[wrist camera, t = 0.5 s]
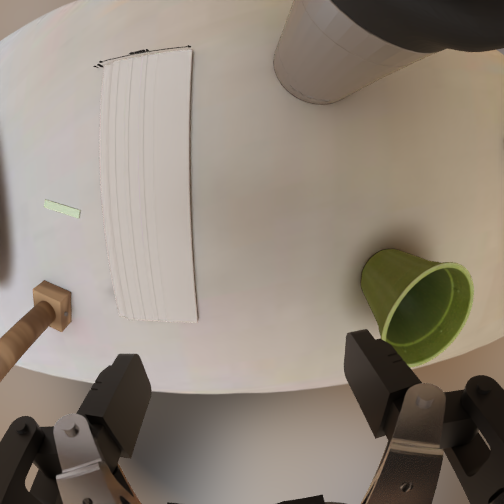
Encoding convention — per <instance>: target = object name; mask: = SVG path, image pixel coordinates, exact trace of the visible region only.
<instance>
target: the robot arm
mask: <svg viewBox="0 0 504 504" xmlns="http://www.w3.org/2000/svg"><path fill="white" fill-rule="evenodd" d="M447 48H449V49H454V50H459V51H466V52H483V51H490V50H496V49H501V48H504V0H294V2H293V5H292V7H291V10H290V13H289V15H288V18H287V21H286V24H285V26H284V29H283V32H282V35H281V37H280V40H279V43H278V46H277V48H276V51H275V54H274V70H275V73H276V75H277V78H278V79H279V81H280V82H281V84H282V85H283V86H284V87H285V88H286V89H287V91H288V92H290V93H291V94H293V95H294V96H295V97H297V98H299V99H301V100H303V101H306V102H310V103H313V104H330V103H333V102H337V101H339V100H341V99H342V98H344V97H346V96H348V95H350V94H352V93H354V92H356V91H358V90H360V89H362V88H363V87H365V86H367V85H369V84H371V83H373V82H375V81H377V80H379V79H381V78H383V77H385V76H387V75H389V74H391V73H393V72H395V71H397V70H399V69H401V68H404V67H406V66H408V65H410V64H412V63H414V62H416V61H418V60H421V59H423V58H425V57H428V56H430V55H432V54H435V53H437V52H439V51H442V50H444V49H447ZM344 372H345V376H346V379H347V381H348V383H349V385H350V387H351V389H352V391H353V393H354V395H355V397H356V399H357V401H358V403H359V405H360V407H361V410H362V412H363V414H364V415H365V418H366V420H367V422H368V424H369V426H370V428H371V430H372V432H373V434H374V436H375V438H379V437H382V436H385V435H386V436H387V439H388V443H387V446H386V448H385V451H384V454H383V456H382V459H381V461H380V464H379V466H378V469H377V471H376V474H375V476H374V478H373V480H372V482H371V485H370V487H369V489H368V491H367V493H366V495H365V497H364V498H363V501H362V502H361V504H432V500H433V497H434V493H435V490H436V486H437V482H438V478H439V473H440V470H441V465H442V460H443V454H444V452H445V454H446V456H447V458H448V460H449V462H450V463H451V465H452V467H453V469H454V471H455V473H456V475H457V477H458V479H459V481H460V483H461V485H462V487H463V489H464V491H465V493H466V495H467V497H468V500H469V502H470V504H504V390H503V389H502V388H501V386H500V385H499V384H498V383H497V382H496V381H495V380H494V379H492V378H491V377H488V376H484V375H479V376H475V377H472V378H471V379H470V380H469V381H468V382H467V384H466V386H465V389H464V390H458V391H452V392H443V391H442V389H440V388H439V387H437V386H435V385H433V384H429V383H422V382H421V381H420V380H419V379H418V377H417V376H416V375H415V374H414V372H413V371H412V370H411V369H410V367H409V366H408V365H407V364H406V362H405V361H403V359H402V357H401V356H400V355H399V354H397V351H396V350H395V349H394V348H393V347H392V345H391V344H389V343H387V342H385V341H384V340H382V339H377V340H375V339H374V337H373V336H372V335H371V334H370V332H369V331H368V330H367V329H364V330H360V331H355V332H350V333H347V336H346V346H345V358H344ZM150 398H151V385H150V382H149V379H148V377H147V374H146V372H145V369H144V366H143V364H142V361H141V359H140V357H139V355H138V354H119V355H118V356H117V358H116V359H115V361H114V363H113V364H112V366H110V365H109V366H108V367H107V368H106V369H104V370H103V371H102V372H101V373H100V374H99V376H98V378H97V379H96V381H95V383H94V384H93V386H92V388H91V390H90V391H89V393H88V394H87V396H86V398H85V399H84V401H83V403H82V405H81V406H80V408H79V410H78V412H77V413H76V414H69V415H66V416H63V417H62V418H60V419H59V420H58V421H57V422H56V424H55V426H53V427H39V425H38V424H37V423H36V421H35V420H34V419H33V418H32V417H29V416H22V417H20V418H17V419H16V420H15V421H13V423H12V424H11V425H10V427H9V429H8V430H7V432H6V433H5V435H4V437H3V438H2V440H1V442H0V504H142V503H141V502H140V501H139V499H138V497H137V496H136V494H135V492H134V491H133V489H132V487H131V485H130V483H129V482H128V480H127V478H126V476H125V474H124V472H123V471H122V468H121V466H120V465H119V464H118V460H119V457H124V458H131V457H132V453H133V450H134V447H135V444H136V441H137V438H138V434H139V431H140V428H141V425H142V422H143V419H144V416H145V413H146V410H147V407H148V404H149V401H150ZM479 430H480V432H481V433H482V435H483V436H484V438H485V439H486V441H487V442H488V444H489V445H490V449H491V451H490V450H489V448H488V446H487V445H486V443H485V442H484V440H483V439H482V437H481V436H480V434H479V433H478V431H479ZM32 463H34V464H35V466H37V468H38V469H39V470H38V472H37V475H36V477H35V480H34V482H33V485H32V487H31V490H30V492H28V491H27V489H26V487H25V479H26V476H27V474H28V471H29V469H30V467H31V465H32ZM167 504H177V503H167ZM277 504H345V503H336V502H324V498H323V495H319V496H313V497H308V498H302V499H296V500H290V501H283V502H280V503H277Z"/></svg>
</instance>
